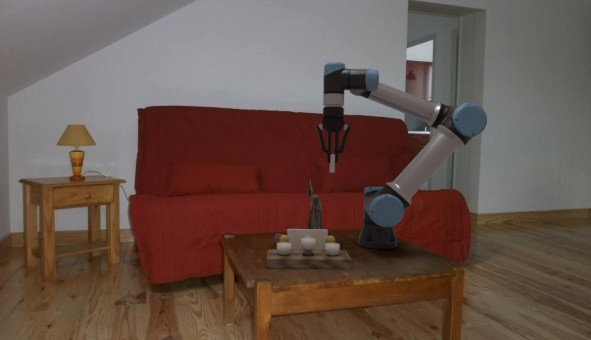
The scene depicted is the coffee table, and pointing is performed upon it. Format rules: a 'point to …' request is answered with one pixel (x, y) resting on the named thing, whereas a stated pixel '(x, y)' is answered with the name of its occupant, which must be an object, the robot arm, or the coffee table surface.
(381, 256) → the coffee table surface
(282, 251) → the button
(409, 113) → the robot arm
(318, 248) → the card
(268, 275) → the coffee table surface
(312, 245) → the button
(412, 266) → the coffee table surface
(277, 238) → the stone
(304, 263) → the board
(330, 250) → the button
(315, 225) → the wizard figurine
